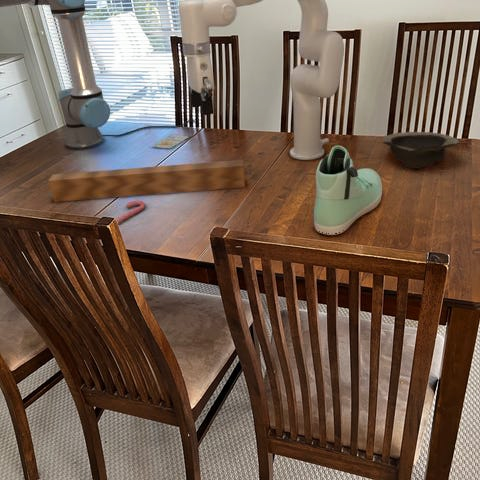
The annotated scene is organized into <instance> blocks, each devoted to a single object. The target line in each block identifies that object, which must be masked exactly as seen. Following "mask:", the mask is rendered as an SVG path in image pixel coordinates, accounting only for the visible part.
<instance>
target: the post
mask: <svg viewBox="0 0 480 480" xmlns="http://www.w3.org/2000/svg"><path fill="white" fill-rule="evenodd" d="M244 166H245V165H244V159H235V160H223V161H222V160H221V161H209V162H197V163H184V164H170V165H158V166H157V165H156V166H146V167H145V166H144V167H133V168H131V167H130V168H121V169H120V168H118V169H107V170H106V169H105V170H95V171H93V170H92V171H82V172H80V171H79V172H69V173H68V172H67V173H56V174H55V173H54V174H52V175H51V176H50V177H49V179H48V180H47V181H48V185H49V188H50V192H51V195H52V198H53V201H54V203H58V202H59V203H61V202H72V201H85V200H97V199H110V198H123V197H124V198H125V197H137V196H148V195H150V196H151V195H161V194H175V193H188V192H189V193H190V192H200V191H201V192H202V191H213V190H214V191H215V190H226V189H239V188H240V189H241V188H246V182H245V168H244Z"/></svg>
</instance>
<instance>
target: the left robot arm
mask: <svg viewBox="0 0 480 480" xmlns="http://www.w3.org/2000/svg"><path fill="white" fill-rule="evenodd" d="M85 2H86V0H0V8H5V7H13V6H19V5H30V6H32V7H34V6H49V8H50V12H51V15H52V16H53V17H54V18H55V19H56V20H57V22H58V23H57V24H58V28H59V31H60V36H61V40H62V45H63V50H64V54H65V57H66V58H65V59H66V62H67V66H68V70H69V75H70V79H71V84H72V87H69V88H66V89H62V90H60V91H58V94H57V95H58V102H59V105H60V108H61V113H62V116H63V119H64V123H65V126H66V133H65V144H66V148H68V149H70V150H85V149H92V148H94V147H97V146H99V145H102V143H104V138H105V137H113V138H114V137H115V138H117V137H123V136H126V135H128V134H132V133H135V132H138V131H140V130H145V129H154V128H156V129H157V128H159V129H160V128H161V129H162V128H166V129H167V128H168V129H173V128H174V129H175V128H182V127H184V126H186V125H188V124H189V123H190V122H193V123H197V121H196V120H195V119H187V121H185V122H184V123H183V124H179V125H147V126H142V127H138V128H135V129H133V130H130V131H127V132H123V133H120V134H102V132H101V130H100V129H99V128H102V127H103V126H104V125H105V124H107V123H108V121H109V119H110V117H111V107H110V106H109V103H108V102H107V101H106V100H105V99H104V94H103V90H102V88H100V86H98V85H97V82H96V77H95V72H94V67H93V62H92V61H93V60H92V58H91V53H90V47H89V42H88V37H87V33H86V28H85V22H84V19H83V18H84V15H85V14H86V6H85Z"/></svg>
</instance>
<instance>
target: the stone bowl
mask: <svg viewBox="0 0 480 480" xmlns="http://www.w3.org/2000/svg"><path fill="white" fill-rule="evenodd" d="M381 142H382V144H384V145H386V146H390V151H391V154H392V155H393V156H394V157H395V159H397V160H399V161H401V163H402V164H401V165H402V167H404V168H411V169H420V168H429V167H432V166H433V165H434V163H435V162H436V163H439V162H443V161H444V159H445V157H446V149H448V148H452V147H455V146H456V145H458V144H460V143H461V141H460V140H459V139H457V138H455V137H453V136H451V135H447V134H444V133H440V132H430V131H405V132H395V133H390V134H387V135H384V136H382V138H381Z"/></svg>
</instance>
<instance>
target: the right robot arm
mask: <svg viewBox="0 0 480 480" xmlns="http://www.w3.org/2000/svg"><path fill="white" fill-rule="evenodd" d="M261 2H263V0H181V1H180V2H179V3H178V15H179V22H180V23H179V24H180V33H181V40H182V42H181V43H182V50H183V51H182V52H183V56H184V57H185V58H186V72H187V79H188V80H187V81H188V86H189V88H190V89H189V93H190V102H191V103H190V104H191V108H199V107H201V110H202V116H209V115H214V113H215V111H214V101H213V100H214V97H213V92H214V91H215V80H214V72H213V65H212V60H211V56H210V55H211V42H210V41H211V40H210V27H217V28H218V27H219V28H222V27H227V26H230V25H231V24H233V22H234V21H235V20H236V17H237V15H238V9H237V8H240V7H245V6H251V5H256V4H258V3H261ZM297 2H298V5H299V7H300V11H301V17H300V18H301V20H300V30H299V36H298V48H297V49H298V55H299V57H301V58H302V59H304V60H307V61H311V62H319V65H315V64H308V63H302V64H299V65H297V66H296V67H294V68H293V69H292V71H291V73H290V76H289V83H290V89H291V95H292V102H293V104H292V105H293V147H292V148H291V149H289V156H290V157H291V158H293V159H296V160H300V161H311V160H317V159H320V158H322V157H323V156H324V155H325V149H324V148H323V146H324V145H326V144H328V143H330V139H329V138H328V137H327V138H323V139H322V138H321V119H322V118H321V115H322V113H321V112H322V106H321V105H322V104H321V100H320V98H321V99H330V98H332V97H334V95H335V94H336V92H337V91H338V89H339V85H340V82H341V81H340V80H341V75H342V69H343V61H344V57H345V42H344V39H343V37H342V35H341V34H340V33H339V32H336V31H334V30H328V21H329V8H328V5H327V2H326V0H297Z"/></svg>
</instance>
